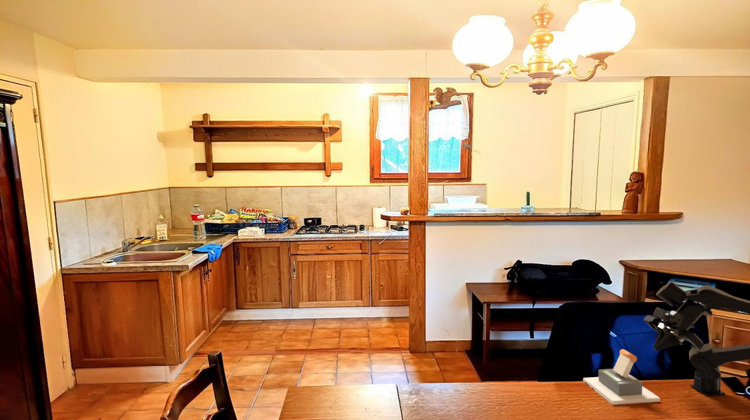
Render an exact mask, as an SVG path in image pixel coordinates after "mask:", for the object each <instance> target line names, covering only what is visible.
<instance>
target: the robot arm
mask: <svg viewBox="0 0 750 420" xmlns="http://www.w3.org/2000/svg"><path fill="white" fill-rule="evenodd" d="M655 295H656V296H657V297H658V298H660V299H661V300H663V301H665V302H666V303H667V304H668V305H670V306H671V307H673V306H674V307H678V309H677V310H676V311H675V310H670V311H667V310H665V309H662V308H660V307H656V308H655V310H654V312H653V315H650V314H649V315H646V316H645V317H644V318H643V321H644V322H645V323H646V324H647V325H648V326H649V327H650V328H651V329H653V330H654V331H655V332H657V333H656V338H655V341H654V344H653V350H655V351H662V350H664V349H668V348H671V347H675V346H677V345H678V346H679V345H682V346H683V345H684V343H683V342H684V341H687V342H690V347H691V349H690V350H689V351H688V352H689V353H688V355H689V362H690V364H691V366H693V368H694V369H696V370H695V371H694V376H693V384H690V387H691V386H692V385H693V387H694V388H693V387H692V388H693V389H695V388H696V389H697V391H698V390H699V392H700V393H702V394H703V395H705V396H708V397H710V396H722V395H726V392H725V391H722V390H721V388H722V387H721V385H722V382H721V381H722V373H721V371H720V370H721V369H720V367H721V366H723V365H725V364H728V363H737V362H742V361H749V360H750V343H749V344H741V345H734V346H727V347H714V346H713V347H712V345H711V343H705V344H704V342H703V340H702V339H701V338H700V337H699V336H698V335H696V333H695V332H692V331H689V329H690V328H693V329H695V328H696V324H695V323H696V322H697V321H698V320H699V318H701V316H702V315H704V316H706V317H710V316H713V315H714V313H713V311H712V308H716V309H726V310H733V311H737V312H741V313H744V314H746V315H750V300H747V299H744V298H740V297H737V296H733V295H731V294H729V293H727V292H725V291H723V290H721V289H718V288H715V287H713V286H711V285H702V286H700V287H698V288H697V289H696V288H695V289H686V290H685V289H683V288H681V287H680V286H678V284H676V283H675V282H673V281H672V280H671V281H670V282H669V283H667V284H665V285H663V286H662V287H660V289H659V290H657V292H656V294H655ZM679 306H680V307H679ZM660 319H661V320H660ZM696 389H695V390H696Z"/></svg>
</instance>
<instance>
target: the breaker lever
mask: <svg viewBox="0 0 750 420" xmlns="http://www.w3.org/2000/svg"><path fill="white" fill-rule="evenodd" d="M637 360H638V357H637V356H636V355H634V354H633V353H631V352H629V351H628V350H626V349H624V348H622V349H620V350H619V356H618V358H617V361H616V362H615V365H614V366H613V368H612V369H613V370H614V371H615V372H617V373H618V374H620V375H621V376H623V377H626V378H627V377H628V375H629V374H630V373H631V370H632V367H633V366H634V363H636V362H637Z"/></svg>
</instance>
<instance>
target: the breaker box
mask: <svg viewBox="0 0 750 420" xmlns="http://www.w3.org/2000/svg"><path fill="white" fill-rule="evenodd" d="M613 369H614V368H604V369H598V376H596V377H595V376H594V377H583V379H582V381H583V383H585V382H586V383H587V384H588V385H589V386H588V385H587V384H586V383H585V384H586V385H587V386H588V387H590V388H591V389H592V388H593V389H594V390H593V389H592V390H593V391H595V392H596V393H597V394H598V395H599V396H601V397H602V398H603V399H605V400H606V401H607V402H608V403H609V404H611V405H615V406H616V405H629V404H644V403H656V402H659V403H660V402H661V401H660V400H661V398H660V397H659V396H658V395H656V394H655V393H654V392H652V391H650V390H649V389H647V388H645V387H644V386H643V382H642V381H640V380H639V379H637V378H636V377H634V376H633V375H631V374H630V373H629V375H628V377H627V378H626V377H623V376H621V375H620V374H618V373H617V372H615V371H614V370H613Z"/></svg>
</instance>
